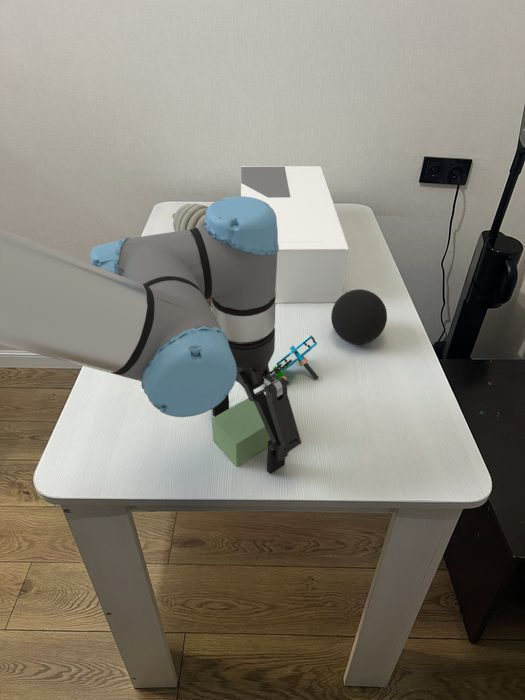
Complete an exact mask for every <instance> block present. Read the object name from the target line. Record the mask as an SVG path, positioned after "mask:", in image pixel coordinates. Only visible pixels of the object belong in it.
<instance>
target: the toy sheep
mask: <svg viewBox="0 0 525 700" xmlns="http://www.w3.org/2000/svg"><path fill="white" fill-rule="evenodd" d="M208 207H209V206H207V205H204V204H199V203H186V204H184V205H182V206H180V207H179V208H178V209H177V210H176V212H174V213H172V215H171V216H172V217H171V218H172V220H173V221H172V226H173V227H172V228H173V230H174V231H173V232H176V231H183V230H190V229H194V228H195V227H202V226H204V220H205V215H206V210H207V209H208Z"/></svg>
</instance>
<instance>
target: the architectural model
mask: <svg viewBox="0 0 525 700" xmlns="http://www.w3.org/2000/svg"><path fill="white" fill-rule="evenodd" d="M240 196H244V197H252V198H256V199H259V200H262V201H264V202H266V203H267V204H268V205H269V206H270V207H271V208H272V209H273V210H274V212H275V214H276V218H277V228H278V245H279V250H278V252H277V270H276V290H275V291H276V298H275V304H308V303H309V304H313V303H314V304H317V303H318V304H319V303H326V304H327V303H328V304H329V303H333V304H335V303H336V301H337V300H338V299H339V298H340V297H341V296H342V295H343V292H344V287H345V286H344V285H345V280H346V279H345V277H346V272H347V264H348V257H349V250H350V249H349V246H348V242H347V239H346V236H345V234H344V230H343V227H342V224H341V222H340V219H339V216H338V213H337V209H336V207H335V204H334V201H333V197H332V196H331V192H330V189H329V187H328V184H327V180H326V178H325V174H324V172H323V169H322V166H321V165H241V166H240Z"/></svg>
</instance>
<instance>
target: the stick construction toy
mask: <svg viewBox="0 0 525 700" xmlns="http://www.w3.org/2000/svg"><path fill="white" fill-rule="evenodd" d="M310 340H312V343H313V344H312V345H310V344H308V343H307V342H308V341H310ZM303 345H304V346H305V347H307V349H305V351H303V352H302V353H300V352H299V351H298V350H299V349H300V348H301V347H302V346H303ZM317 345H318V343H317V341H316V339H315V337H313V335H309V337H307V338H306V339H305V340H303V341H302V342H301V343H299V345H297V346H296V347H295V346H294V345H291V346H290V347H289V350H290V352H288V353H287V354H286V355H285V356H283V357H282V358H281V359H280V360H279V361H277V362H276V363H275V366H273V367H272V370H270V373H271V376H272V377H273V378H274V377H275V376H277V377H278V379H280V378H284V379H285V380H286V382H287V386H288V385H289V384H290V382H289V381H288V377H286V376H285V374H284V372H285V371H287V369H289V368H290V367H292V366H293V365H294V364H295V363H297V362H298V364H299V365H300V366H301V367H304V368H305V370H307V372H308V373H309V374H310V375H311V377H312V378H313V379H314V380H315V381H316V380H317V379H319V375H318V374H317V373H316V372H315V371H314V369H313V368H312V367H311V366H310V364H309V363H308V362H309V360H308V359H307V357H305V355H307V354H308V353H309V352H311V351H312V350H313V349H314V348H315V347H316V346H317ZM293 354H294V356H295V357H296V358H295V359H294V360H293V359H289V360H287V359H288V358H289V357H290V356H291V355H293ZM282 362H285V363H284V364H283V363H282Z"/></svg>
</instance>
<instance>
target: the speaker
mask: <svg viewBox="0 0 525 700" xmlns="http://www.w3.org/2000/svg"><path fill="white" fill-rule="evenodd" d="M333 304H334V305H333V307H332V309H331V314H330V315H331V317H330V319H331V324H332V327H333V330H334V332H335V333H336V334H337V336H338V337H340V339H342V340H343V341H345V342H347V343H349V344H353V345H365V344H368V343H371V342H373V341H375V340H376V339H377V338H379V337H380V336H381V335H382V333H383V332H384V331H385V328H386V325H387V322H388V312H387V307H386V305H385V303H384V302H383V301H382V299H381V297H379V296H378V295H377V294H376V293H374V292H372V291H370V290H368V289H367V290H366V289H352V290H349V291H347V292H345V293H344V294H342V296H341V297H340V298H339V299H338V300H337V301H336V302H334V303H333Z"/></svg>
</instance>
